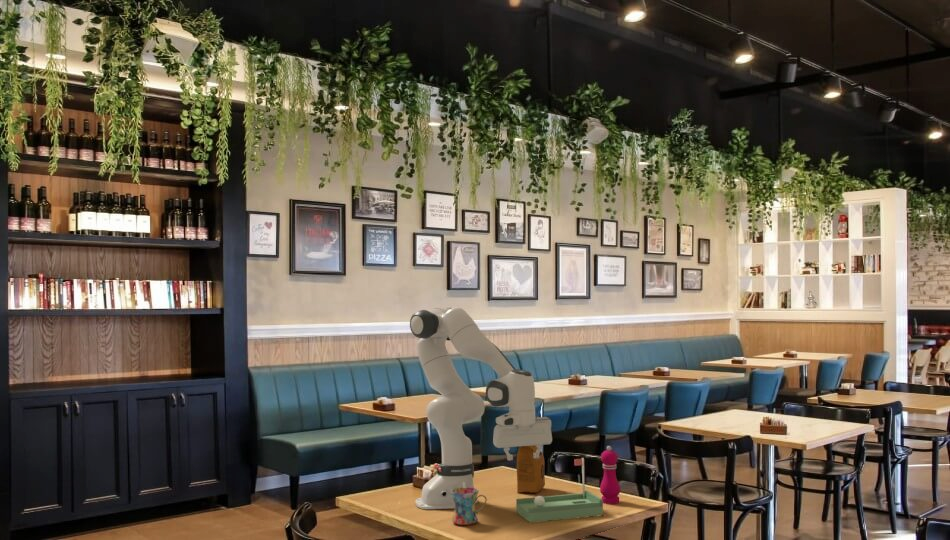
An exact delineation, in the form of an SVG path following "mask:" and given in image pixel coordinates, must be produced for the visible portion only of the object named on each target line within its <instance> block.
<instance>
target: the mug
mask: <svg viewBox="0 0 950 540" xmlns="http://www.w3.org/2000/svg"><path fill="white" fill-rule="evenodd" d="M479 491H480V490H479V489H477V488H475V487H474V488H468V487H464V488H455V489H452V490H451V491H450V492H451V494H452V497H453V500H454V505H455V508H454V514H453V518H452V519H451V521H452V523H453V524H456V525H459V526H460V525H461V526H469V525H473V524H476V523H477V522H478V520H479V519H478V517H477V516H478V515H479V513H478V512H479V511H480V510H482V509H483V508H484V507H485V506H486V503H487V496H485V495H484V494H480V495H478V493H480V492H479ZM480 497H483V498H484V503H483V505H482V506H481V507H480V508H478V509H476V503H475V501H477V502H478V498H480Z"/></svg>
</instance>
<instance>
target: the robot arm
mask: <svg viewBox="0 0 950 540" xmlns="http://www.w3.org/2000/svg"><path fill="white" fill-rule="evenodd" d="M409 328H410V331H411V333H412V335H413V336H414V337H416V338H418V341H417V343H416V350H417V355H418V359H419V362H420V365H421V368H422V370H423V372H424V375H425V377H426V380H427V382H428V385H429V386H430V388H431V389H433V390H434V391H437V392H438V393H439V394H440V395H441V396H438V397H437V398H434V399H433V400H431V401H430V402H429V403H428V404H427V407H426V410H425V411H426V412H425V413H426V418H427V420H428V422H429V423H430V424H431V426H433V427H434V428H435V429H436V431H437V434H438V436H439V439H440V447H441V463H440V464H438V463H434V464H433V469H434V470H436V474H435V475H434V476H433V477H432V478H430V480H428V481H427V482H426V483H425V484H423V487H422V488H421V496H420V497H418V498H416V499H415V503H414V504H415V505H416V507H417V508H419V509H422V510H443V509H444V510H446V509H447V510H448V509H452V510H453V509H455V505H454V500H453V497H452V494H451V492H450V491H451V490H452V489H455V488H464V487H468V488H475V484H474V483H475V482H474V477H475V465H474V462H473V442H472V440H471V438H470V437H468V436H466V435H465V431H464V430H463V424H469V423H472V422H475V421H477V420H479V419H480V418H481V417H482V416H483V415H484V414H485V409H486V407H485V401H484V400H483V398H482V396H480V394H478V393H476V392H474V391H472V389H471V388H469V386H468V385H466V383H465V382H464V381H463V380H462V378H461V377H460V375H459V374H458V371H457V370H456V367H455V365H454V362H453V361H452V358H451V355H450V354H449V352H448V349H447V347H446V342H447V341H450V342H451V344H452V345H453V347H454V349H455V350H456V351H457V352H458V353H459V354H460V355H461V356H462V357H464V358H467V359H470V360H474V361H475V360H476V361H480V362H482V363H485V364H487V365H489V366H490V367H491V368H493V371H494V372H495V373H496V374H497V375H498V377H499V378H496V379H493V380H491V381H489V382H488V383H487V386H486V388H485V398H486V400H487V402H488V403H489V405H491V406H493V407H496V408H501V407H502V408H503V407H508V408H509V409H508V410H509V411H508V412H507V413H504V414H501V415H499V416H498V417H496V418H495V423H496V425H495V426H494V428H493V436H492V438H493V439H492V444H493V446H495V448H498V449H502V448H503V451H504V452H505V455H506V460H507V461H509V462H511V461H513V460H514V455H513V454H511V453H510V452H509V451H510V449H511V448H514V447H516V448H517V447H520V446H532V445H536V447H537V450H536V452H535V453H533V455H534V458H535V459H537V458H539V453H540V451H542V449H543V446H544V445H551V444H552V442H553V436H552V435H553V434H552V420H551V419H550V418H549V417H547V416H536V406H535V398H536V391H535V380H534V379H535V378H534V377H533V374H532V373H531V372H530V371H528V370H525V369H517V368H516V367H514V365H513V364H512V363H511V362H510V360H509V359H508V358H507V356H506V355H505V354H504V353H503V352H502V350H501V349H500V348H499V347H498V346H497V345H495V344H494V342H492V341H491V340H489V338H488V337H487V336H486V335H485V334H484V333H483V332H482V330H481V329H480V328H479V326H478V325H477V323H476V321H475V320H474V319H473V318H472V317H471V316H470V315H469V313H467V311H465V310H464V309H463V308H461V307H459V306H458V307H434V308H429V309H421V310H418V311H416V312H414V313H413V314H412V315H411V317H410V320H409ZM477 503H478V500H477V501H475V504H477Z"/></svg>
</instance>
